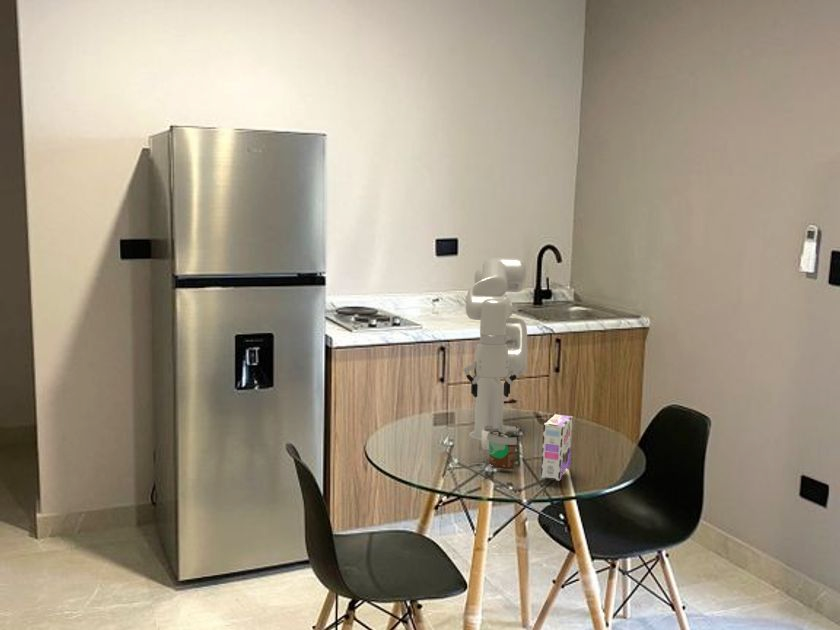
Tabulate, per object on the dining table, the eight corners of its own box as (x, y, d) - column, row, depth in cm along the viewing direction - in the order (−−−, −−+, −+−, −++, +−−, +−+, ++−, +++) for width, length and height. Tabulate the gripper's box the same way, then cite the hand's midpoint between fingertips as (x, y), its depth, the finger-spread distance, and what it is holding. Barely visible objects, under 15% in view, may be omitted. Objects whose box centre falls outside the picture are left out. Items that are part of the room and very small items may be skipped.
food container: (478, 460, 264) (479, 429, 263) (496, 458, 267) (497, 427, 266) (497, 472, 253) (499, 439, 252) (515, 470, 256) (517, 437, 254)
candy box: (559, 481, 247) (562, 425, 244) (540, 478, 249) (542, 423, 247) (570, 468, 259) (573, 415, 257) (551, 465, 261) (554, 413, 259)
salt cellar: (492, 446, 281) (493, 424, 280) (496, 450, 276) (497, 428, 276) (479, 446, 280) (480, 425, 279) (483, 450, 275) (484, 428, 275)
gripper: (517, 338, 261) (514, 393, 263) (461, 338, 259) (459, 393, 260) (524, 342, 254) (521, 398, 256) (467, 341, 251) (465, 399, 253)
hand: (490, 396), depth 258 cm, fingers open, 9 cm apart
